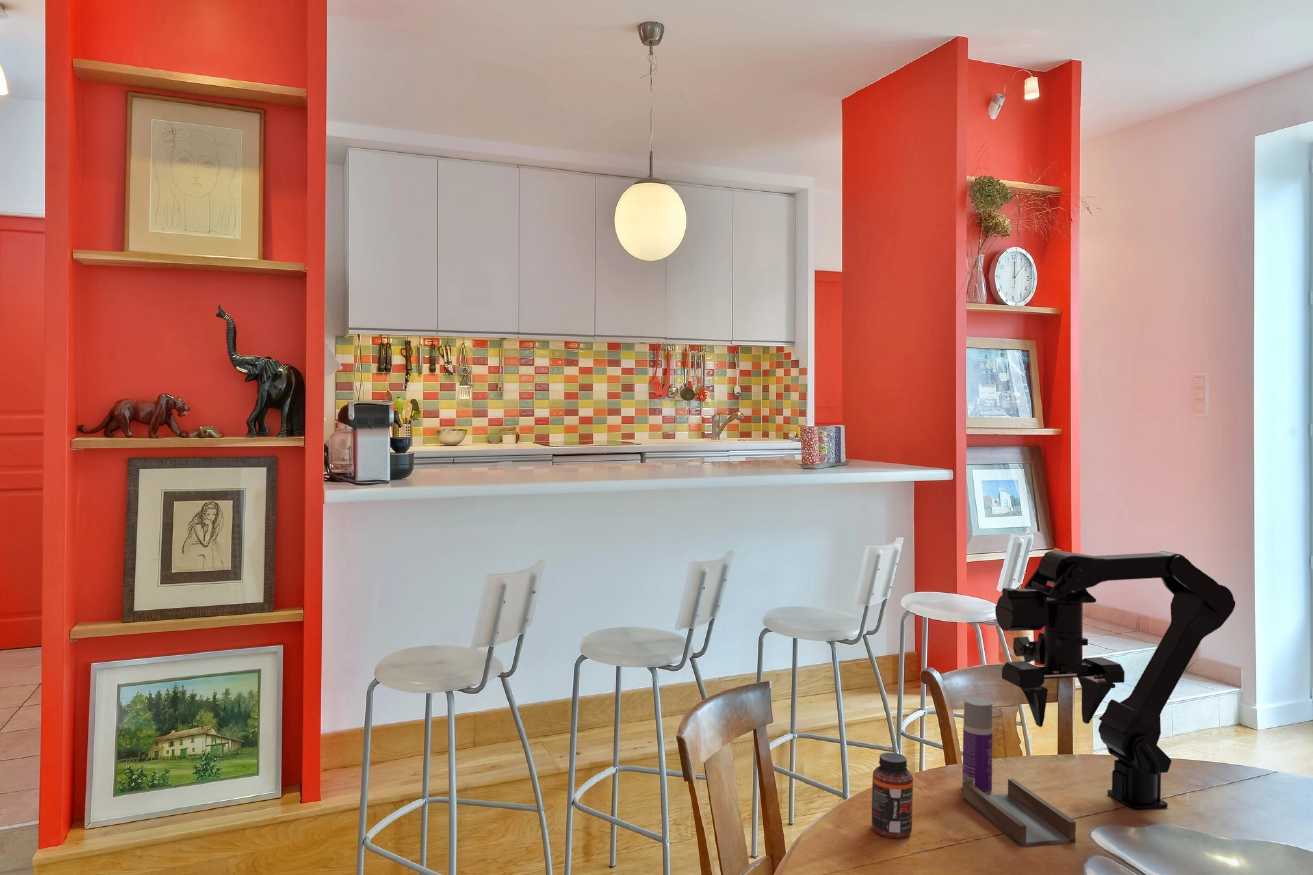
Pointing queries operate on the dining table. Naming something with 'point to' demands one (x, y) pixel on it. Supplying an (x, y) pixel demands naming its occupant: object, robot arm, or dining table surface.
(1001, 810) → the cradle
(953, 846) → the dining table surface
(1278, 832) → the dining table surface
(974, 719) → the container
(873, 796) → the supplement bottle
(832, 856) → the dining table surface
